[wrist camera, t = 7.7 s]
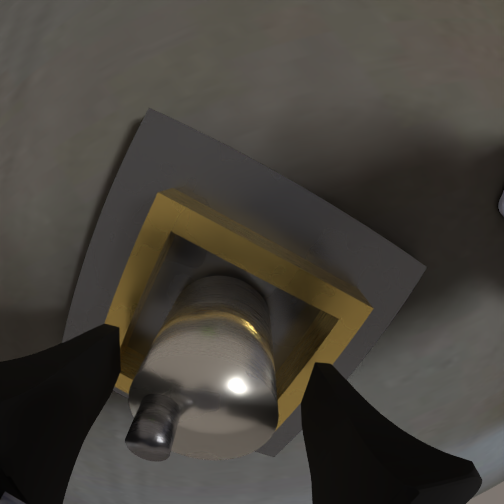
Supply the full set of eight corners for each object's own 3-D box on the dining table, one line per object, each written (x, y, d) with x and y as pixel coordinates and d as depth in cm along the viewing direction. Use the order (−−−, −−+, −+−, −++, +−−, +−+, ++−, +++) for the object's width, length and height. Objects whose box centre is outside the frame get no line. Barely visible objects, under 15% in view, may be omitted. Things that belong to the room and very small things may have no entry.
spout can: (279, 284, 14) (301, 410, 6) (261, 368, 15) (263, 504, 7) (175, 267, 13) (101, 376, 6) (170, 353, 15) (120, 478, 7)
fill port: (415, 259, 14) (448, 281, 11) (273, 443, 18) (275, 481, 15) (157, 112, 13) (131, 99, 10) (68, 347, 16) (41, 376, 13)
